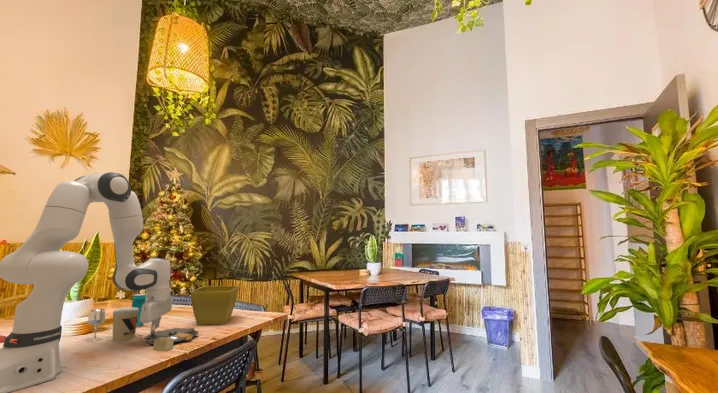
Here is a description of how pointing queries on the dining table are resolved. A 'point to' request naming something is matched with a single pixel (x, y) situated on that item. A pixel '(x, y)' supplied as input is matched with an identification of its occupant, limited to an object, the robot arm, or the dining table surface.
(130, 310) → the coffee cup
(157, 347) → the tall wooden block
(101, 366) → the dining table surface
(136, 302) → the beverage can
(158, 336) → the sprocket
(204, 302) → the flower pot
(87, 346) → the dining table surface
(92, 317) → the wineglass
